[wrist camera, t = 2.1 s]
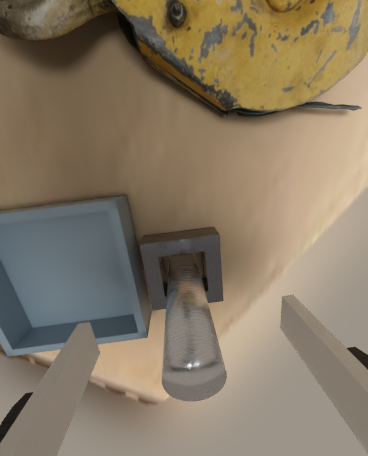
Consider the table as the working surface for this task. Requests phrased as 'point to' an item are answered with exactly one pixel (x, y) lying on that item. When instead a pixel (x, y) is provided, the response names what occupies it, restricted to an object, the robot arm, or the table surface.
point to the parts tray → (70, 275)
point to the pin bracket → (182, 244)
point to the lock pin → (190, 335)
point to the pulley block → (222, 44)
